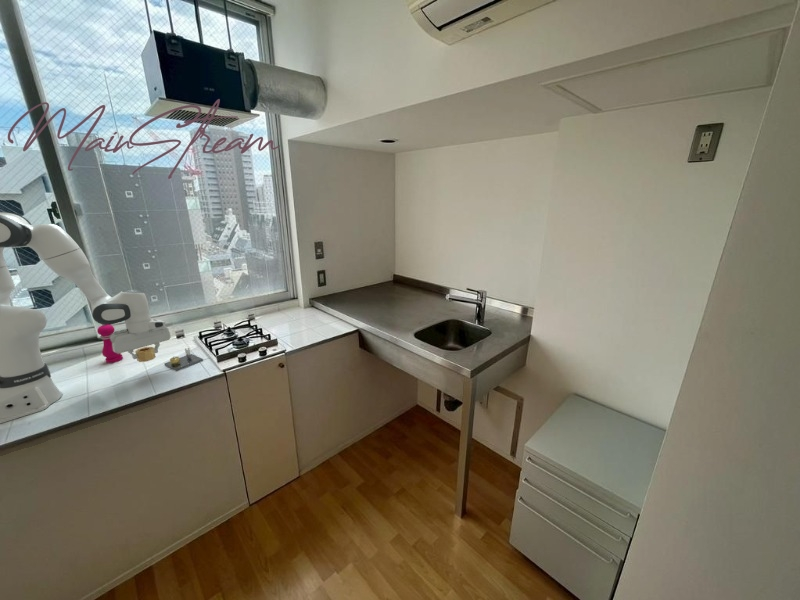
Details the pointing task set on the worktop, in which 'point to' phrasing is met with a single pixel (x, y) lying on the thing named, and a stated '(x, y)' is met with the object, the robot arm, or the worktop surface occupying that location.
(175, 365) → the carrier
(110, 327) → the pepper mill
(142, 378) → the worktop surface
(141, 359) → the planet gear
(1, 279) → the robot arm
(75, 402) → the worktop surface
